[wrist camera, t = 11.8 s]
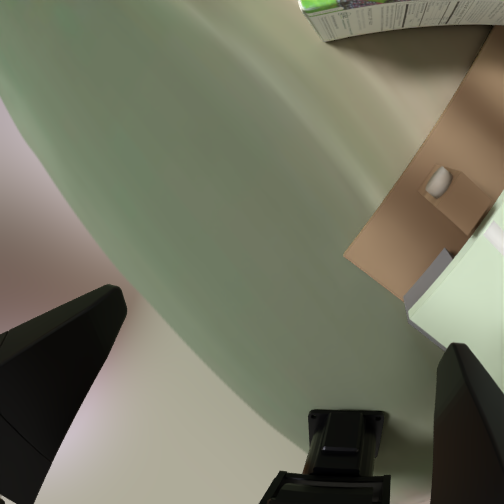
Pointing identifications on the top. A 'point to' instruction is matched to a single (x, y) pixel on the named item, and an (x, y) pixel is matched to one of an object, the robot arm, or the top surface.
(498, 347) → the trapdoor
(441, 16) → the syrup box
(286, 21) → the top surface
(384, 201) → the trapdoor frame
